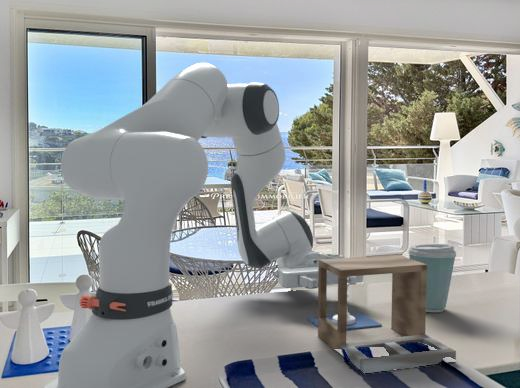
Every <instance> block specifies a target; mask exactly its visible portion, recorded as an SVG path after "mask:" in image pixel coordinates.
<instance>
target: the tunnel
mask: <svg viewBox="0 0 520 388" xmlns="http://www.w3.org/2000/svg"><path fill="white" fill-rule="evenodd" d="M327 270H328V271H330V272H332V273H334V274H336V275H338V284H337V315H338V324H337V325H336V324H334V323H333V322H332V321H330V320H329V319H327V318H326V316H327V288H328V287H327V286H328V285H327ZM387 274H392V275H391V278H392V279H391V280H392V282H391V283H392V284H391V320H390V321H391V330H392V331H394V332H396V333H397V334H399V335H401V336H397V337H388V338H380V339H372V340H371V339H370V340H361V341H354V342H347V332H348V330H347V309H348V297H347V293H348V290H347V277H349V276H363V275H364V276H372V275H373V276H375V275H387ZM426 283H427V264H424V263H421V262H418V261H415V260H412V259H410V257H409V258H408V257H405V256H402V255H400V254H387V255H373V256H359V257H358V256H356V257H344V258H337V259H320V260H319V267H318V288H317V289H318V290H317V294H318V295H317V299H318V300H317V303H318V304H317V317H318V327H317V337H318V338H319V339H321V341H323V342H324V343H325V344H326V345H328V346H329V347H330V348H331V349H332V350H334V349H341V348H342V349H344V350H345V352H346V354H347V356H348V358H349V359H350V361H351V362H352V363H353V364H354V365H355V366H356V367H357V368H358V369H360V370H361V371H362V372H363V373H364V374H363V373H362V372H361V371H360V372H361V373H362V374H363V375H366V374H365V373H372V372H378V371H379V373H381V372H380V371H387V372H390V371H389V370H394V369H402V370H406V369H405V368H410V369H413V368H412V367H417V368H420V367H419V366H425V367H427V366H426V365H431V364H436V363H439V362H441V361H442V360H443V358H445V357H451V358H453V359H455V360H456V359H457V358H456V357H457V350H455V349H453V348H451V347H450V346H447V345H446V344H444V343H442V342H440V341H438V340H437V339H435V338H433V337H431V336H429V335H427V334H426V325H427V324H426V321H427V320H426V318H427V317H426V316H427V315H426V314H427V312H426ZM407 342H420V343H424V344H427V345H429V346H431V347H434V348H435V349H437V350H430V351H422V352H414V353H411V352H410V351H408V350H406V349H405V348H403V347H402V346H400V345H401V344H405V343H407ZM359 347H384V348H385V349H386V351H387V352H388V353H389V356H381V357H373V358H369V357H367V356H366V355H365V354H363V353H362V352H361V351H359V350H358V349H357V348H359ZM456 361H457V360H456ZM356 367H355V368H356ZM357 368H356V369H357ZM358 369H357V370H358ZM372 374H373V373H372Z"/></svg>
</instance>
